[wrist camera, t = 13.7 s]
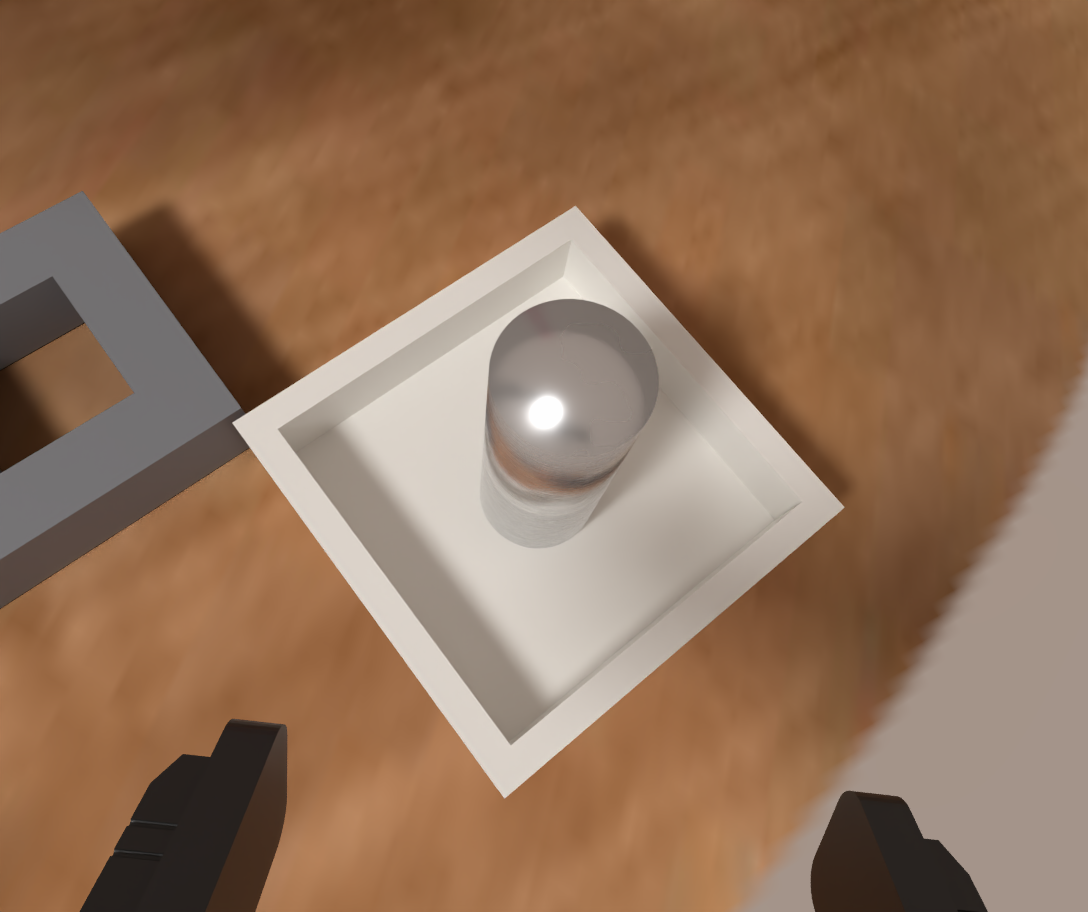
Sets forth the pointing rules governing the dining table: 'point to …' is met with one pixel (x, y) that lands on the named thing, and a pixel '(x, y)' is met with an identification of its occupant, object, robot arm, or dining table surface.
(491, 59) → the dining table surface
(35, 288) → the socket block
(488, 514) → the pin
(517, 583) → the tray
